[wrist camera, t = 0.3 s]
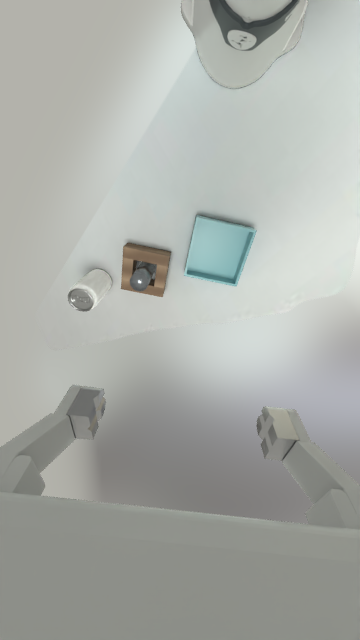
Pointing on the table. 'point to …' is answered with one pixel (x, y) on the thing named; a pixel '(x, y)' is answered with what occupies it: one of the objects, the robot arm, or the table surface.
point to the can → (89, 290)
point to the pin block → (148, 255)
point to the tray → (218, 250)
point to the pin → (142, 276)
